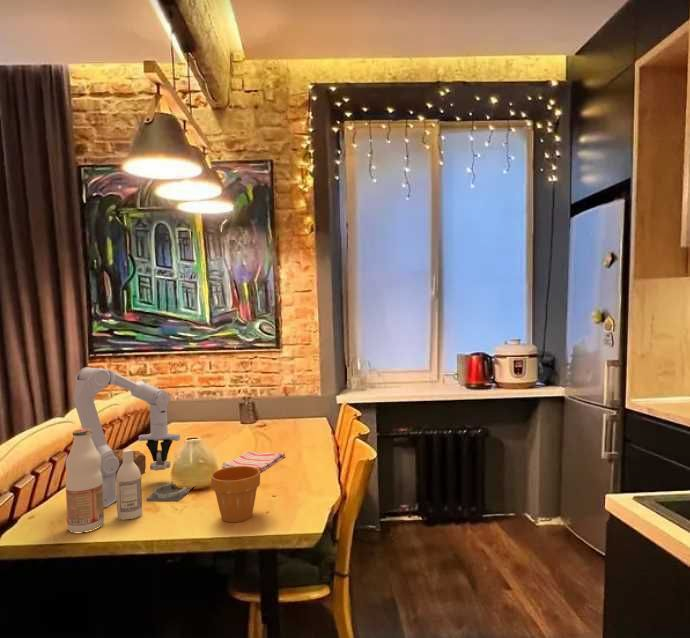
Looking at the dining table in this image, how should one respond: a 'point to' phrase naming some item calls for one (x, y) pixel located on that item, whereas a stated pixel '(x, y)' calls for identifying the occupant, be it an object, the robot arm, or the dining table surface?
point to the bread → (137, 459)
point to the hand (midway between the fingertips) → (160, 460)
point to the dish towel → (255, 460)
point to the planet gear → (159, 462)
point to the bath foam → (128, 488)
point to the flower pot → (236, 491)
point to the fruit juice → (84, 484)
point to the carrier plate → (168, 493)
